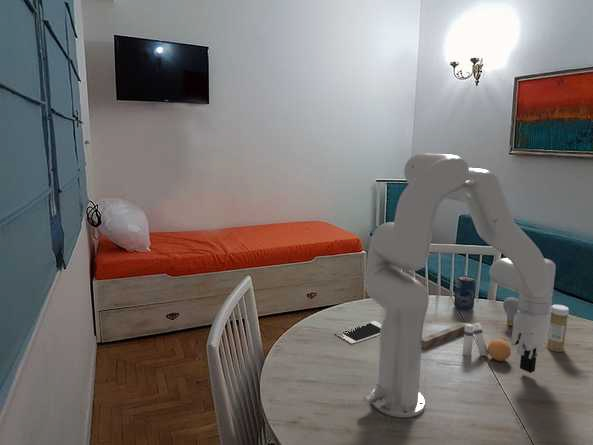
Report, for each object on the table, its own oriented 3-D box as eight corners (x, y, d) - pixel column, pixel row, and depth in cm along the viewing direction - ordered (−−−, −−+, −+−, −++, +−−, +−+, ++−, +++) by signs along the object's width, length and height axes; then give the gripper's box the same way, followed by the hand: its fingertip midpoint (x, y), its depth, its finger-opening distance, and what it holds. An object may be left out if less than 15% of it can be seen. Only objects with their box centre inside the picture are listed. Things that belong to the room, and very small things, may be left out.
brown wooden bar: (424, 349, 131) (425, 341, 130) (419, 346, 132) (419, 339, 132) (468, 331, 143) (469, 324, 143) (463, 329, 145) (463, 322, 144)
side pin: (468, 357, 126) (470, 328, 125) (460, 353, 128) (463, 325, 127) (473, 354, 128) (475, 325, 126) (465, 351, 130) (468, 323, 128)
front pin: (485, 355, 125) (476, 324, 126) (478, 355, 127) (469, 325, 129) (490, 353, 126) (481, 322, 128) (483, 353, 128) (474, 323, 130)
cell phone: (393, 332, 144) (393, 329, 144) (351, 346, 134) (352, 343, 134) (374, 322, 151) (374, 320, 151) (333, 335, 141) (333, 332, 141)
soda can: (455, 311, 160) (457, 280, 157) (452, 304, 166) (454, 274, 164) (475, 312, 159) (478, 281, 156) (471, 305, 165) (473, 275, 163)
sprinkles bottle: (566, 349, 131) (572, 307, 128) (559, 353, 128) (564, 310, 126) (551, 344, 135) (556, 302, 132) (543, 347, 132) (548, 305, 130)
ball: (480, 343, 126) (488, 364, 124) (495, 339, 122) (504, 360, 119) (494, 339, 129) (502, 360, 127) (510, 335, 124) (518, 356, 122)
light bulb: (519, 324, 149) (522, 296, 147) (517, 330, 144) (520, 301, 142) (502, 320, 152) (505, 293, 150) (500, 326, 147) (502, 298, 145)
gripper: (534, 295, 120) (527, 356, 124) (504, 306, 112) (498, 372, 115) (563, 303, 114) (555, 367, 118) (533, 316, 106) (526, 385, 109)
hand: (527, 369), depth 116 cm, fingers closed
